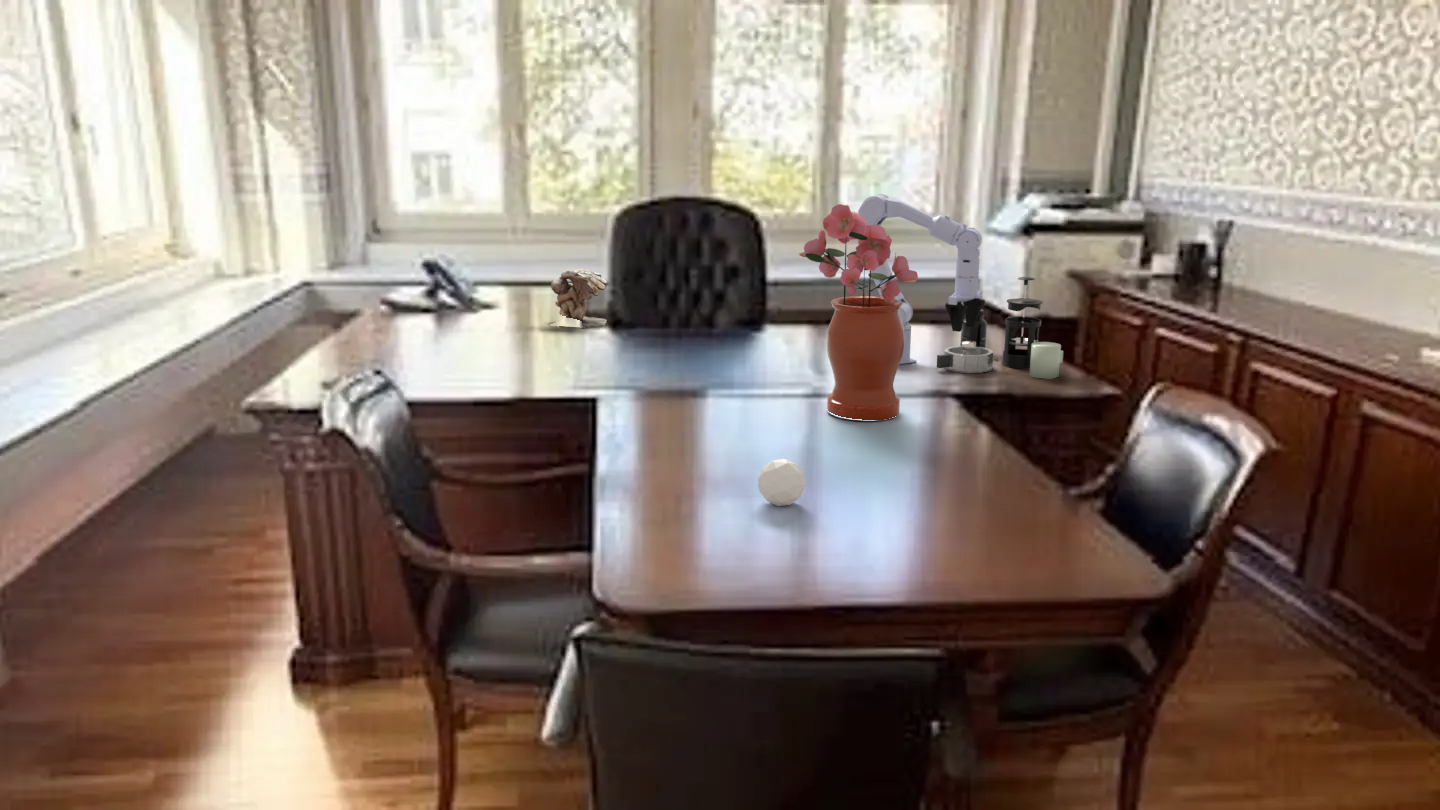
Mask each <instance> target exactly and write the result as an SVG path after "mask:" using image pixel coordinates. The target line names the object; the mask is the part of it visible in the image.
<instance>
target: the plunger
mask: <svg viewBox="0 0 1440 810" xmlns="http://www.w3.org/2000/svg"><path fill="white" fill-rule="evenodd" d="M962 350H967V353H966V355H970V353H971V351H973V350H976V342H973V341H963V342H962Z"/></svg>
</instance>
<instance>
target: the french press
mask: <svg viewBox="0 0 1440 810" xmlns="http://www.w3.org/2000/svg"><path fill="white" fill-rule="evenodd" d="M1017 280H1019V281H1023V286H1024V295H1023V297H1020V298H1019V297H1017V298H1009V299H1007V300H1006V303H1008V304H1007V310H1008V311H1013V312H1021V311H1022V316H1008V317H1006V318H1005V320H1004V321H1005V323H1004V324H1005V332H1004V335H1005V338H1004V349H1003V351H1002V352H1003V353H1002V361H1001V365H1002V366H1004V367H1006V366H1007V368H1011V367H1012V369H1018V370H1019V369H1021V370H1024V369H1027V370H1028V369H1029V370H1030V359H1031V345H1032V343H1034V342H1040V341H1039V340H1040V327H1041V326H1042V319H1039V318H1037V317H1030V316H1025V312H1026V311H1025V310H1026V309H1027V308H1034V309H1038V310H1039V311H1041V307H1042V306H1041V305H1042V304H1043V303H1044V302H1043V300H1040V299H1035V298H1034V299H1033V298H1028V297H1027V295H1026V294H1027V286H1028V285H1029V281H1034V280H1035V278H1034V277H1030V276H1021V277H1017ZM1018 328H1021V336H1020V337H1017V335H1018V334H1017V332H1018V331H1017V330H1018ZM1024 329H1028V333H1027V337H1024ZM1018 346H1019V347H1027V348H1016V347H1018Z"/></svg>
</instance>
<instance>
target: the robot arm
mask: <svg viewBox="0 0 1440 810" xmlns="http://www.w3.org/2000/svg"><path fill="white" fill-rule="evenodd" d="M857 214H859V215H861V216H863V217H864V219H865V220H866V222H867V224H866V225H870V226H871V225H875V224H877V225H880V226H882V223H883V222H884V221H885V220H886V219H890V218H901V219H904V220H907V221H909V222H911V223H914V224H916V225H919V226H920V227H923V228H926V229H927V230H928V232H929V234H930V236H931V237H933V238H935V239H938V240H939V241H940V242H941V241H942V242H944V243H946V244H948V245H950V246H952V247H953V246H955V247H956V249H957V258H956V262H955V263H956V266H955V279H954V292H953V293H952V294H951V295H950V296H948V302H945V303H944V304H945V305H944V307H945V308H946V310H947V313H948V317H949V320H950V325H951V330H952V332H957V333H958V332H960V333H961V329H962V325H963V320H964V319H966V326H967V327H975V325H976V322H977V318H978V315H979V313H980V310H981V309H982V308H983V307H984V305H985V303H986V299H982V298H983V290H979V289H978V288H979V277H980V274H979V273H980V262H981V261H980V256H981V255H980V253H981V252H980V247H981V245H982V243H983V238H982V234H981V232H980V231H979V230H978V229H976V228H975V227H968V224H966V223H963V224H961V223H959V222H958V221H956V220H952V219H951V216H950V215H948V214H945V215H942V214H940V215H936V216H935V217H934V216H932V215H930V214H928V213H927V212H924V211H922V210H920V209H919V208H916V207H914V206H912V205H911V204H909V203H906V202H904V201H902V200H900V199H897V198H895V197H892V196H891V197H889V196H887V194H882V193H879V194H875V195H872V196H868V197H867V198H865V199H864V200H863V202H862V203H861V205H860V207H859V209H857ZM858 241H859V239H857V242H858ZM871 273H880V274H884V275H886V276H887V277H890V275H891V276H892V275H894V273H893V272H892V268H891V267H890V264H889V263H888V259H886V261H885V262H884V264H883V265H881V266H879V267H878V268H876V269H875V270H874V271H871ZM891 273H892V274H891ZM887 280H888V279H885V280H884V281H883V280H882V281H883V282H882V281H880V280H877V279H873V282H874V283H875V286H876V287H877V286H878V285H879V284H880V283H881V282H882V283H884V282H885V281H887ZM891 280H895V278H893V279H891ZM882 283H881V284H882ZM886 283H887V282H886ZM886 283H884V284H883V285H881V286H879V287H881V288H882V287H883V286H884V285H885V284H886ZM876 287H875V288H876ZM881 288H876V289H877V292H878V294H879V297H882V293H881ZM895 299H897V300H900V301H901V302H902V306H901V307H900V309H898V314H899V317H900V320H901V323H902V326H903V330H904V348H903V354H902V358H901V361H900V364H899V365H902V364H910V363H916V362H917V360H916V359H914V358H911V340H912V339H911V338H912V326H911V324H910V323H909V322H910V321H911V319H912V318H913V316H914V315H913V314H914V310H913V307H912V306H911V304H910V303H909V302H908V301H907V300H906V299H905V297H904V294H903V293H902V292H901V291H900V293H899V295H898V296H895Z"/></svg>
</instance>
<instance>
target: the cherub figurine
mask: <svg viewBox="0 0 1440 810" xmlns="http://www.w3.org/2000/svg"><path fill="white" fill-rule="evenodd" d="M568 280H569V281H570V282H568ZM607 284H608V281H607V280H606V279H604V278H603V277H602V274H601V273H598V272H595V271H594V272H593V271H591V270H589V269H586V268H578V269H575V270H573V269H569V268H568V269H565V270H563V271H562V272H561V273H560V276H559V277H555V278H554V279H552V281H551V284H550V288H551V290H552V291H553V293H554V294H556V295H557V296H556V300H555V302H554V305H555V306H556V307H558V308H559V311H558V313H559V315H560V316H561V315H562V316H566V318H573V319H577V320H580V321H582V326H583V327H585V328H589V329H592V328H597V327H604V326H605V325H606V323H608V322H607V319H605V318H601V317H600V318H599V317H593V316H592V317H589V316H585V314H586V301H590V300H592V298H593V296H594V297H597V296H600V291H604V290H606V286H607ZM562 316H561V317H562Z"/></svg>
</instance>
